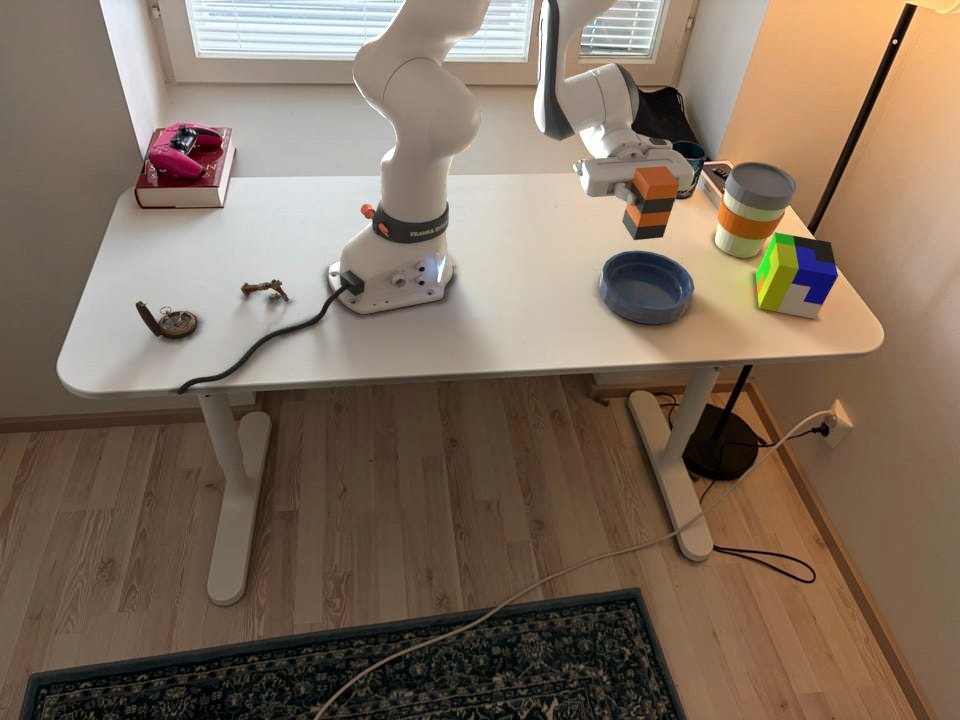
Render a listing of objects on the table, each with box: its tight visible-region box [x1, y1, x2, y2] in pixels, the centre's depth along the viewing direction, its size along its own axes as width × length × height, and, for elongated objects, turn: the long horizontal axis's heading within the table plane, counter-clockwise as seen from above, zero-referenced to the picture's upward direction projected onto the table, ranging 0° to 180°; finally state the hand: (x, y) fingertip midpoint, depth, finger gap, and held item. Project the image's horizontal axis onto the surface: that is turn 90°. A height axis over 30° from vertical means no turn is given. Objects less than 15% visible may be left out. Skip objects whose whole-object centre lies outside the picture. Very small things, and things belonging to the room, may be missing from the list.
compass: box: [135, 300, 199, 340], centre depth 115 cm, size 8×8×7 cm
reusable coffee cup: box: [714, 161, 797, 259], centre depth 140 cm, size 13×13×15 cm
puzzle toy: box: [755, 231, 839, 320], centre depth 131 cm, size 10×10×10 cm
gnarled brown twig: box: [239, 279, 290, 303], centre depth 123 cm, size 2×8×4 cm, turn 75°
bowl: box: [598, 249, 695, 325], centre depth 130 cm, size 16×16×4 cm
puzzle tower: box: [621, 166, 680, 241], centre depth 125 cm, size 6×6×11 cm
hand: (653, 200), depth 123 cm, fingers closed on puzzle tower, 5 cm apart
